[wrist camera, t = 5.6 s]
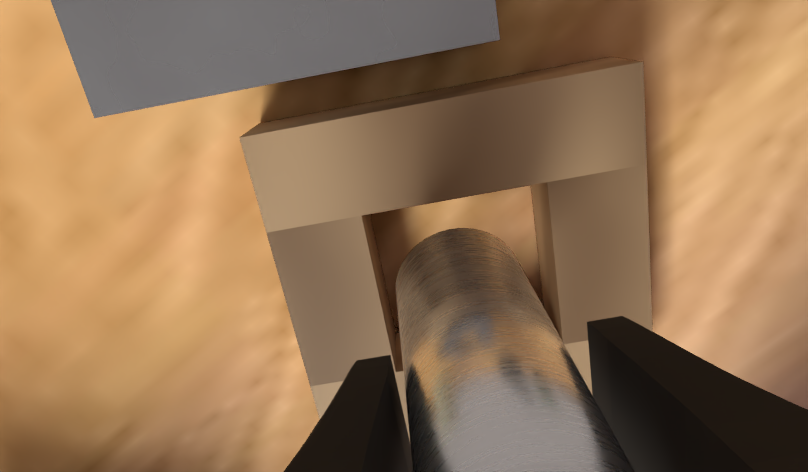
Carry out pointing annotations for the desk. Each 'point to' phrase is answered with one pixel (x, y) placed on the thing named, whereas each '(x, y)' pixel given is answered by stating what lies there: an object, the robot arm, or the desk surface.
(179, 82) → the mount
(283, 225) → the socket
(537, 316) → the lock pin
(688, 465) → the robot arm
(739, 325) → the desk surface
